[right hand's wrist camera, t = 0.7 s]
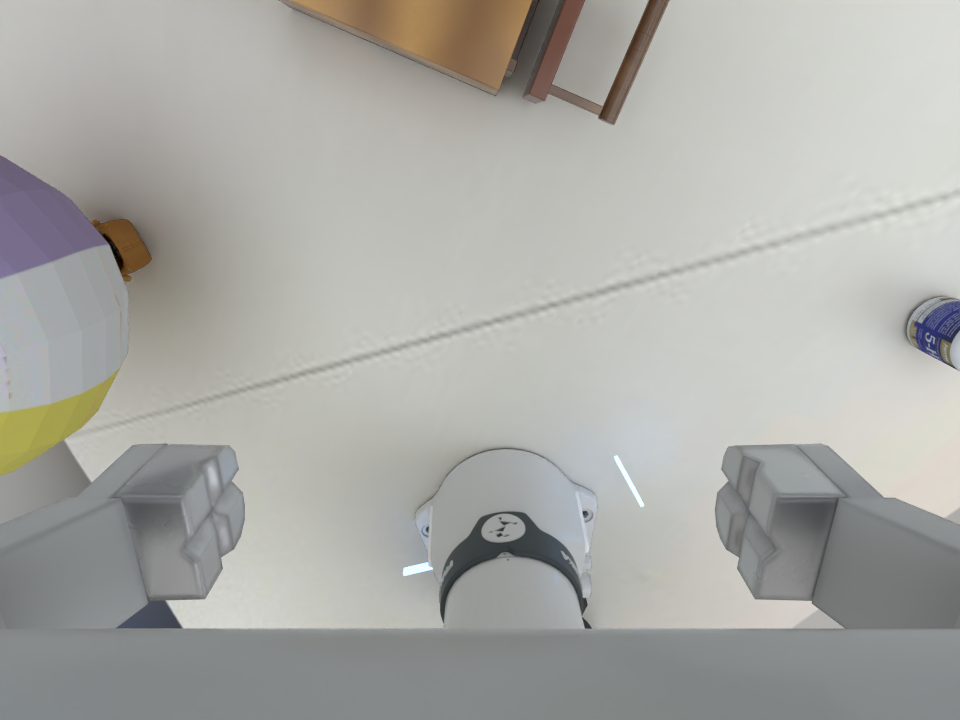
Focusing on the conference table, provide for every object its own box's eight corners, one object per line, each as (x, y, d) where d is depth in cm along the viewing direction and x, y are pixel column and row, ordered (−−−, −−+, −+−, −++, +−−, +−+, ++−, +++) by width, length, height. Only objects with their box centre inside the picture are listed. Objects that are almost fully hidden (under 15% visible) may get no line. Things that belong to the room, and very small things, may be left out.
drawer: (654, 1, 45) (683, -19, 39) (598, 130, 49) (615, 132, 42) (386, -127, 42) (370, -169, 36) (345, 21, 46) (324, 5, 40)
